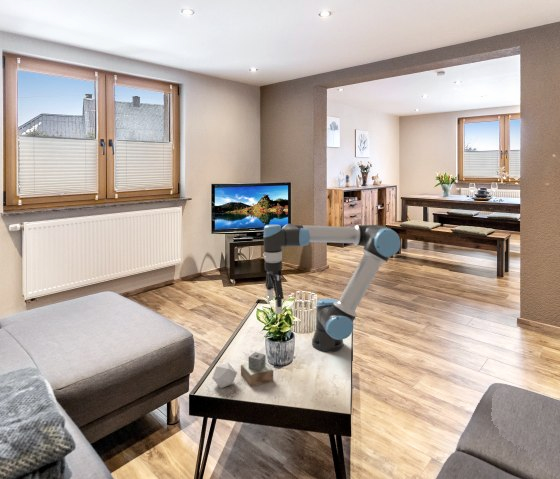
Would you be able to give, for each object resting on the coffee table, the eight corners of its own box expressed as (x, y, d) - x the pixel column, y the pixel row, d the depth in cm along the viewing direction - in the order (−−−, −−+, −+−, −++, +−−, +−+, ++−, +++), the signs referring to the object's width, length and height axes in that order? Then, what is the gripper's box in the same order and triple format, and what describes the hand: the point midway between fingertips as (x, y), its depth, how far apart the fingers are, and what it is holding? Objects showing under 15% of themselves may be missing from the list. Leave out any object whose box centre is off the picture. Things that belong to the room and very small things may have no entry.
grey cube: (248, 368, 161) (248, 356, 160) (255, 363, 165) (255, 352, 165) (259, 371, 159) (259, 359, 158) (265, 366, 163) (265, 354, 162)
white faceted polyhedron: (230, 378, 164) (214, 360, 162) (244, 373, 159) (229, 355, 157) (220, 394, 157) (204, 376, 155) (234, 390, 152) (218, 372, 150)
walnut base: (262, 370, 170) (262, 359, 169) (273, 381, 161) (273, 369, 160) (240, 376, 165) (240, 364, 164) (250, 387, 156) (250, 375, 156)
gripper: (257, 255, 181) (259, 300, 184) (272, 268, 157) (274, 319, 161) (273, 254, 183) (275, 298, 186) (290, 266, 159) (291, 317, 163)
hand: (274, 308), depth 174 cm, fingers open, 13 cm apart
